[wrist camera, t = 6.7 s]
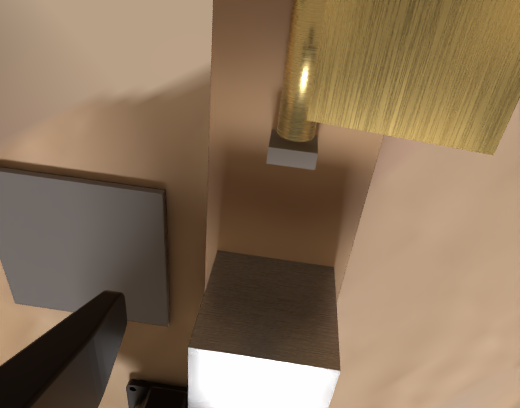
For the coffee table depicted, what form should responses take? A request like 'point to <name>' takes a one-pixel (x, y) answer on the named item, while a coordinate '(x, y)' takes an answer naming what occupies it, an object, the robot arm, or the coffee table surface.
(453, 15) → the lever
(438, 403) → the coffee table surface
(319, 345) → the cap block
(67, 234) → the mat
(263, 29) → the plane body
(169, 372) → the coffee table surface
